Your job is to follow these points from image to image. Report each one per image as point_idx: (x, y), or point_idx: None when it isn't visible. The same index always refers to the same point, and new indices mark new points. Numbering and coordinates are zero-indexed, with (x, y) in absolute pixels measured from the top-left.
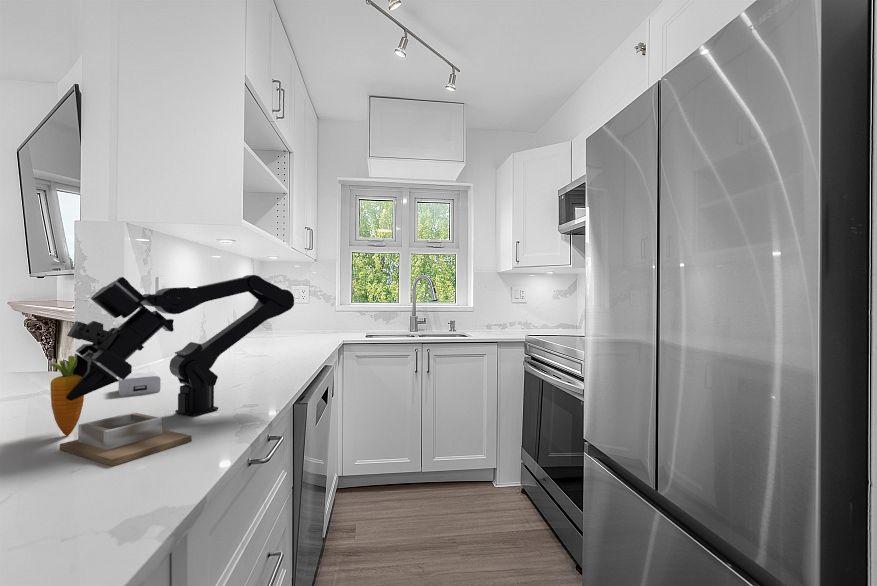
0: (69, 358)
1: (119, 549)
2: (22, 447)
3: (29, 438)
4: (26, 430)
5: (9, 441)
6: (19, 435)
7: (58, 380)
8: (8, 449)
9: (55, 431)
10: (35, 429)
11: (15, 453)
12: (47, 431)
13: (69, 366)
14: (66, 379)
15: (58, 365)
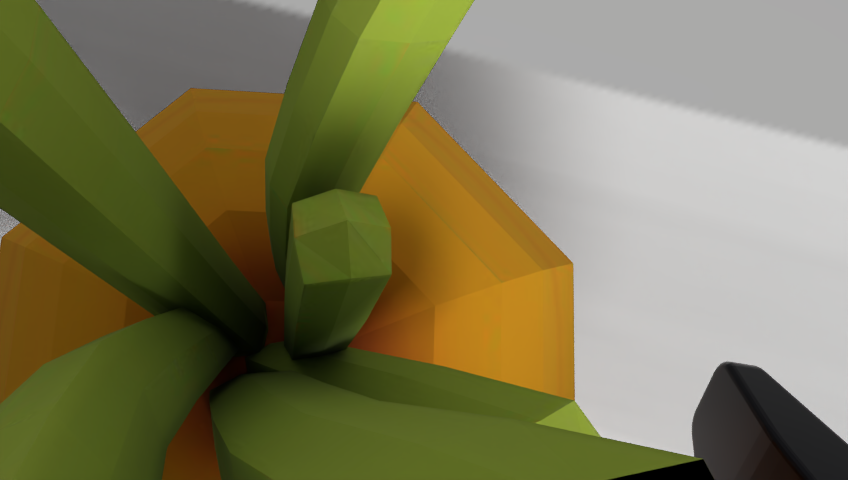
0: (470, 464)
1: None
2: (271, 87)
3: (513, 192)
4: (819, 254)
5: (548, 85)
6: (684, 176)
7: (143, 134)
8: (306, 20)
9: (577, 385)
10: (796, 307)
11: (141, 16)
12: (636, 344)
13: (107, 348)
14: (20, 254)
15: (315, 29)
